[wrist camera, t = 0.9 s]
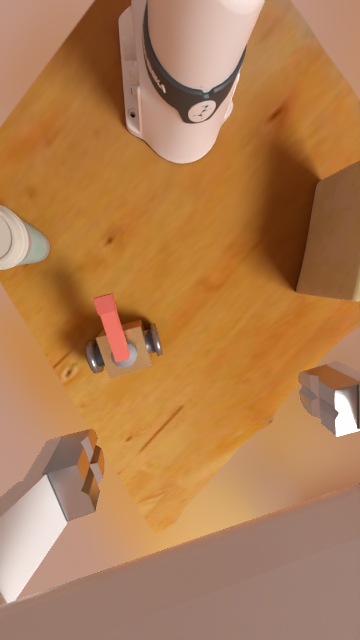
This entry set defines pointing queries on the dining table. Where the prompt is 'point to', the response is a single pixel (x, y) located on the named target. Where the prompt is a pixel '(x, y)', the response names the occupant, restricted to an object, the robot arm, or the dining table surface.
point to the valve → (134, 334)
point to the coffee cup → (20, 241)
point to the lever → (115, 331)
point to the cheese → (334, 239)
